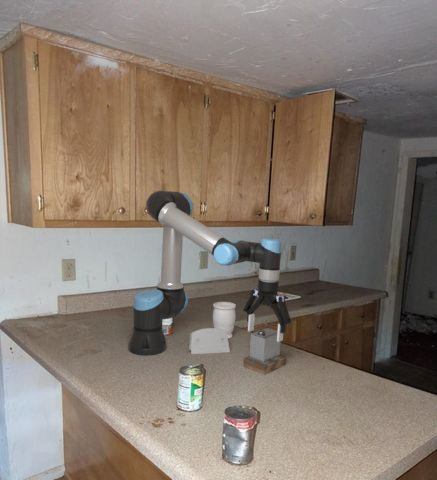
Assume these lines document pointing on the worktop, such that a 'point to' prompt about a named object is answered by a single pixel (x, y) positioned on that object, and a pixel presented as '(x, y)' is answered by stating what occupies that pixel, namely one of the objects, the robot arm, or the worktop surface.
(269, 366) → the stand
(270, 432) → the worktop surface
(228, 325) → the jar
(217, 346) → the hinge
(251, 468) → the worktop surface
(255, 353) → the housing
